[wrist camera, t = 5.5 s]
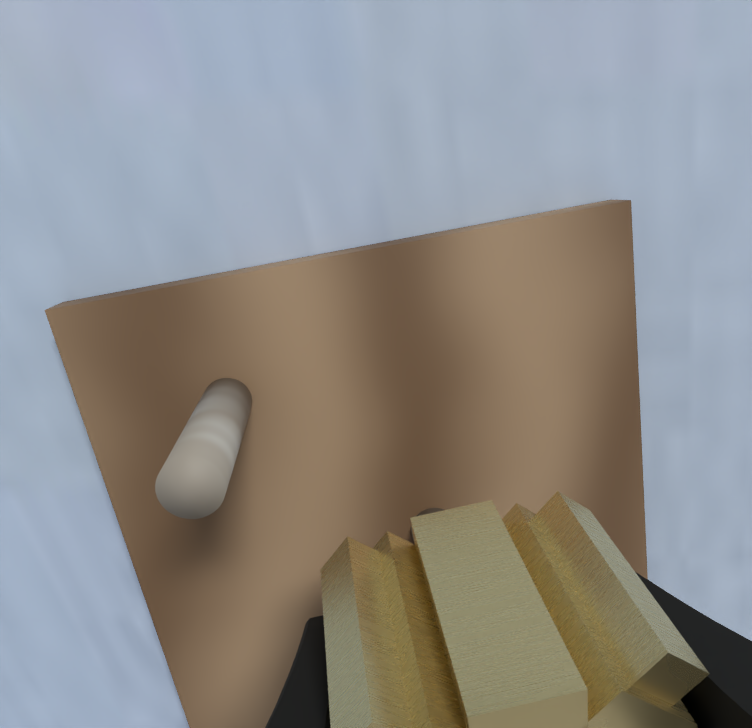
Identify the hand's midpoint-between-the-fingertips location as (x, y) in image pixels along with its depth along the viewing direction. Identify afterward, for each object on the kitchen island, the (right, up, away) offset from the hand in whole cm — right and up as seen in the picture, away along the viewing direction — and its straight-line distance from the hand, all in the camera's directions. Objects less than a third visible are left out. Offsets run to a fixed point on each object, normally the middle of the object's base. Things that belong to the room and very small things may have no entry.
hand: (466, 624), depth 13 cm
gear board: (-1, -2, +5) cm, 6 cm away
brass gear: (0, 0, 0) cm, 1 cm away
